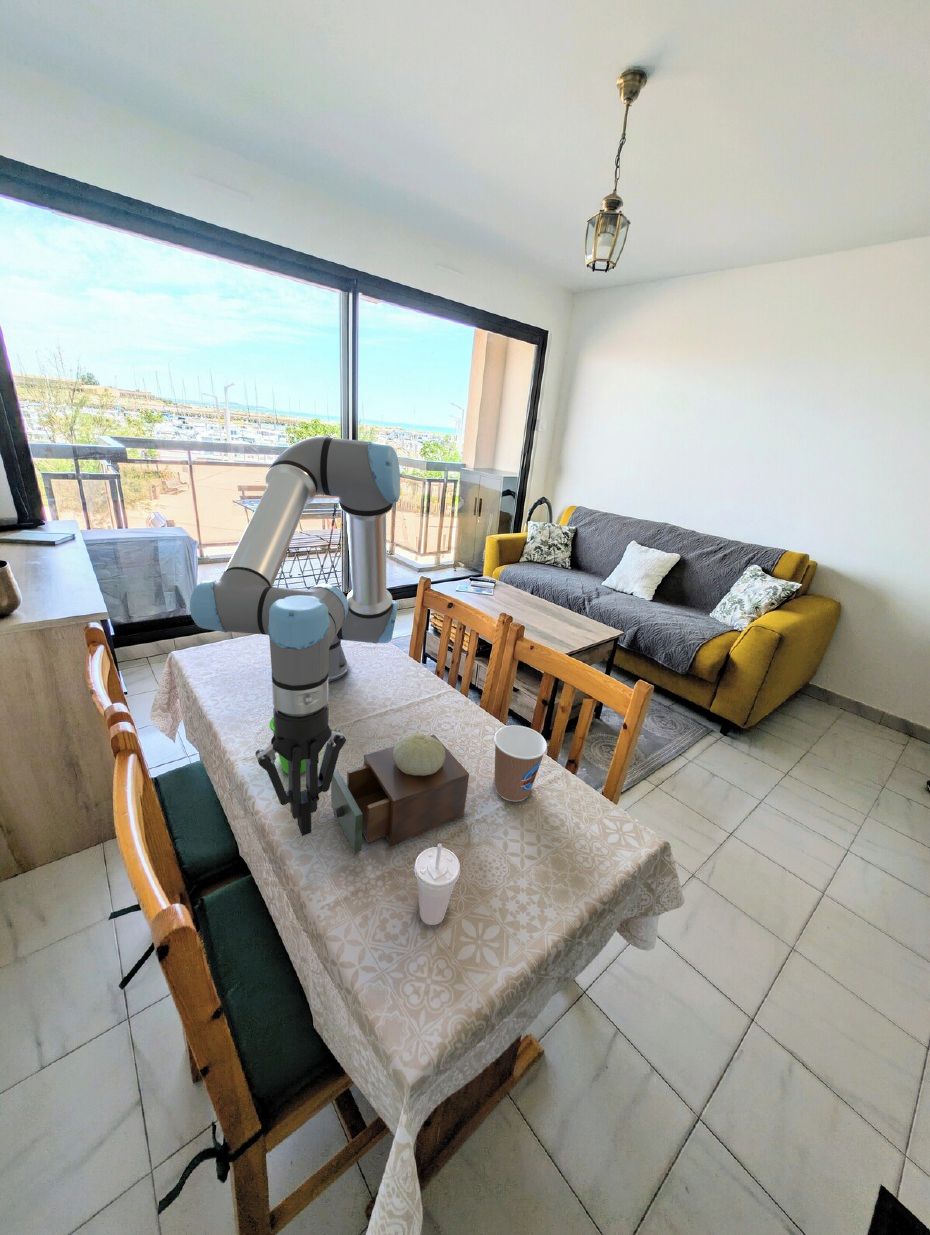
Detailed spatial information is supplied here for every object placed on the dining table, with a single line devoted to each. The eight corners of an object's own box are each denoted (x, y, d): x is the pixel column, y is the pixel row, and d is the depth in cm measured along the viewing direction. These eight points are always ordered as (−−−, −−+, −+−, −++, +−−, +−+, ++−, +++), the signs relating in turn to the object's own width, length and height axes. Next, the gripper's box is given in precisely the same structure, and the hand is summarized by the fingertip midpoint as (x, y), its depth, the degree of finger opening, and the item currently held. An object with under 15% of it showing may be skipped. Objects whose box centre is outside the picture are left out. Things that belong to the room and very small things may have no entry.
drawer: (347, 856, 75) (347, 819, 73) (324, 808, 84) (324, 773, 81) (427, 823, 83) (431, 788, 81) (399, 782, 92) (401, 749, 89)
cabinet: (390, 846, 79) (393, 801, 76) (362, 796, 89) (363, 754, 85) (463, 815, 87) (469, 773, 84) (430, 773, 97) (434, 734, 93)
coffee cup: (524, 816, 89) (534, 765, 84) (477, 792, 93) (484, 742, 89) (544, 786, 97) (555, 738, 93) (500, 765, 102) (508, 718, 97)
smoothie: (405, 928, 67) (411, 856, 61) (416, 888, 73) (423, 819, 67) (449, 939, 66) (459, 866, 61) (457, 897, 72) (467, 828, 67)
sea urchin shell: (443, 777, 79) (413, 743, 78) (409, 796, 82) (380, 763, 81) (454, 745, 88) (427, 713, 86) (424, 763, 90) (397, 732, 89)
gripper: (258, 728, 61) (266, 862, 70) (354, 706, 68) (351, 830, 77) (247, 700, 67) (256, 826, 75) (337, 682, 74) (336, 800, 82)
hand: (304, 828), depth 76 cm, fingers closed
